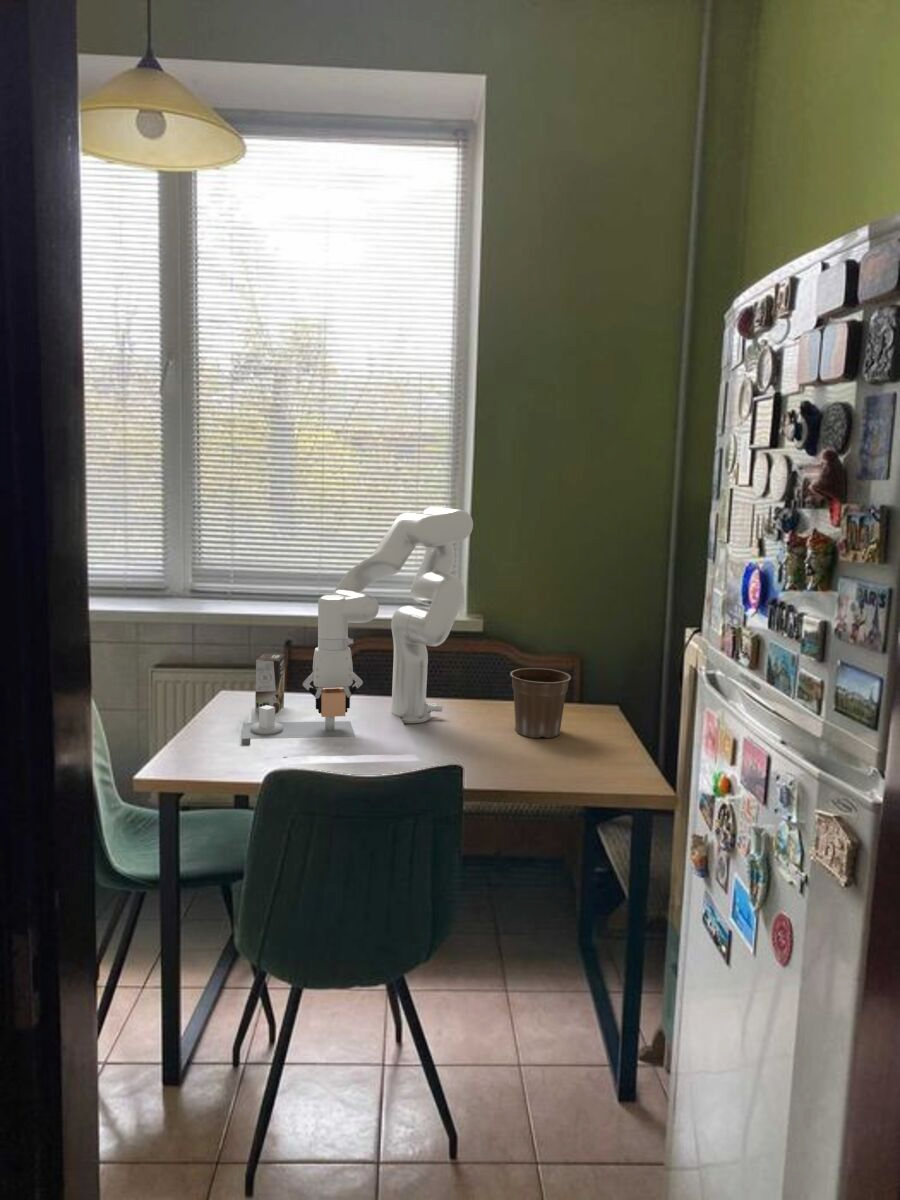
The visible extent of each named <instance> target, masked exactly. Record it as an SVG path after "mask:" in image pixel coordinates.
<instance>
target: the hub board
mask: <svg viewBox="0 0 900 1200" xmlns="http://www.w3.org/2000/svg"><path fill="white" fill-rule="evenodd" d="M335 719H336V717H324V721H276V713H275V707H272V706H268V705H266V706H262V707H259V712H258V722H242V734H241V745H251V740H253V739H256V740H257V739H301V738H302V739H303V738H304V739H306V738H307V739H308V738H310V739H312V738H345V737H346V738H352V737H353V738H355V737H356V733H355V731H354V727H353V725H352V722H351V720H347V721H346V720H342V721H341V720H337V721H335Z"/></svg>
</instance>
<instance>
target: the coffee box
mask: <svg viewBox="0 0 900 1200" xmlns="http://www.w3.org/2000/svg"><path fill="white" fill-rule="evenodd" d="M285 658H286V654H285V653H262V654H261V655H260V656H259V657H257V659H256V660H255V662H256V663H255V697H254V698H255V699H254V701H255V702H254V703H255V705H254V706H255V707H254V711H255V713H259V707H262V706H266V705H268V706H272V707H275V714H278V713H279V712H280V710H281V709H283V708H285V668H286V667H285V663H286V662H285V661H286V659H285Z"/></svg>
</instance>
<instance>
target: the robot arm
mask: <svg viewBox="0 0 900 1200" xmlns="http://www.w3.org/2000/svg"><path fill="white" fill-rule="evenodd" d="M473 528H474V520H473V518H472V516H471V515H470V514H469V513H468V511H465V510H462V509H459V508H458V509H457V508H449V507H440V506H431V507H427V508H425V509H424V510H423V511H422V512H421V513H413V512H405V513H402V514H399V515H398V516H397V517H396V518H395V520H394V521H393V523H392V524H391V525H390V527H389V529H388V530H387V531H386V533H385V535H384V536H383V537H382V539H381V540H380V542H379V543H378V545H377V546H376V548H375V550H374V551H373V552H372V553H371V555H369V556H368V557H366V558H364V559H362V561H360V562H359V563H357V564H356V565H354V566H352V567H351V569H349V570H348V571H347V572H346V573H345V574H344V576H343V577H342V578H341V580H340V582H338V584H337V585H336V587H335V589H334V590H333V592H332V594H327V595H322V596H321V597H319V599H318V601H317V621H318V622H317V625H318V626H317V647H315V648H314V653H313V658H312V660H313V662H312V672H311V673H310V675H308V677H306V678H305V680H304V681H302V687H304V688H305V689H306V690H307V691H308V692H309V693H310V694H311V695H312V696H313V697H314V698H315V710H317V711H318V714H321V692H322V690H323V688H338V687H343V688H344V691H345V693H346V700H345V713H348V709H350V707H351V697H352V696H353V694H354V693H356V691H357V690H358V689H359V688H360V687H361V686H362V685H363V684H364V682H363V680H362V679H361V678H360V677H359V676H358V675H357V674H356V673H355V672H354V670H353V658H352V650H351V648H350V647H349V646H350V645H354V638H350V637H349V636H348V635H349V633H348V632H349V631H348V630H349V624H350V623H351V624H352V623H354V624H356V623H357V624H359V623H360V624H363V623H368V622H371V621H372V620H374V619H375V618H376V617H377V616H378V613H379V610H380V609H379V608H380V606H379V603H378V601H377V599H376V598H375V597H373V596H372V595H371V594H368V593H364V592H363V591H364V590H365V589H366V588H367V587H368V586H370V585H371V584H373V583H375V582H377V581H380V580H383V579H386V578H389V577H391V576H394V575H396V574H398V573H400V571H401V570H402V569H403V567H404V566H405V565H404V564H406V561H407V560H408V559H409V557H410V556H411V554H412V553H413V551H414V550H415V548H416V547H423V548H425V551H424V555H423V559H422V561H421V563H420V565H419V568H418V570H417V572H416V574H415V577H414V579H413V582H412V584H411V588H410V595H411V597H412V600H414V601H415V602H417V603H419V604H422V605H424V606H425V605H426V606H429V609H428V608H425V607H421V606H415V605H403V606H401V607H399V608H398V609H397V610H395V611H394V613H393V614H392V617H391V623H390V624H391V625H390V626H391V633H392V640H393V642H392V643H393V663H392V665H393V667H392V686H391V687H392V689H391V691H392V692H391V714H393V715H394V716H397V717H399V718H400V719H401V722H402V724H420V723H425V722H427V721H429V720H431V715H432V714H431V713H432V712H437V713H438V712H439V713H441V712H443V704H437V703H428V701H427V682H428V664H429V663H428V662H429V659H428V657H429V655H428V650H427V646H428V647H438V646H440V645H441V644H442V645H443V643H444V642H445V641H446V639H447V638H448V637H449V635H450V632H451V630H452V628H453V625H454V624H455V621H456V618H457V616H458V614H459V611H460V609H461V607H462V604H463V601H464V598H465V597H464V594H465V590H464V585H463V582H462V581H461V580H460V579H459V578H458V576H455V575H453V574H451V571H452V569H453V566H454V563H455V558H456V557H455V556H456V555H455V553H456V552H455V549H454V545H453V544H455V543H459V542H462V541H465V540H466V539H467V538H468V537H469V536H470V535H471V534H472V531H473ZM311 682H313V686H314V687H316V688H314V687H313V686H312V685H311ZM353 682H355V683H354V684H353ZM349 687H350V688H349Z"/></svg>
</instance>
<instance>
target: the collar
mask: <svg viewBox="0 0 900 1200" xmlns="http://www.w3.org/2000/svg"><path fill="white" fill-rule="evenodd" d="M345 700H346V693H345V691H344V688H343V687H338V688H323V690H322V692H321V713H320V714H321V718H325V717H335V718H337V717H346V712H345Z"/></svg>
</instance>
